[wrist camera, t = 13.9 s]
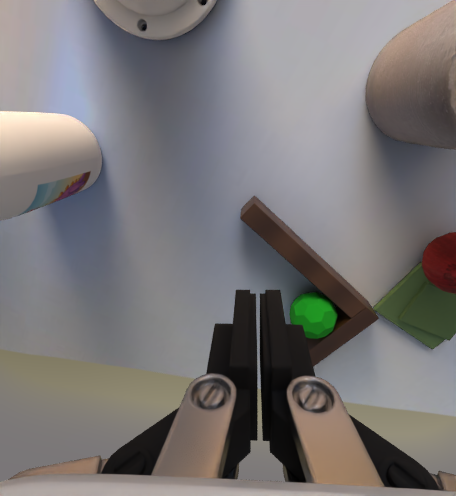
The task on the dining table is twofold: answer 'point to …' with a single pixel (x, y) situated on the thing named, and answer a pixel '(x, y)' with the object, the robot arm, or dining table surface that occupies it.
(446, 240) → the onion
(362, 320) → the corner stop
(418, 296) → the green rag
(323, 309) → the polyhedron
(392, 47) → the pillar candle
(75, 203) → the dining table surface
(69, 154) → the milk bottle
